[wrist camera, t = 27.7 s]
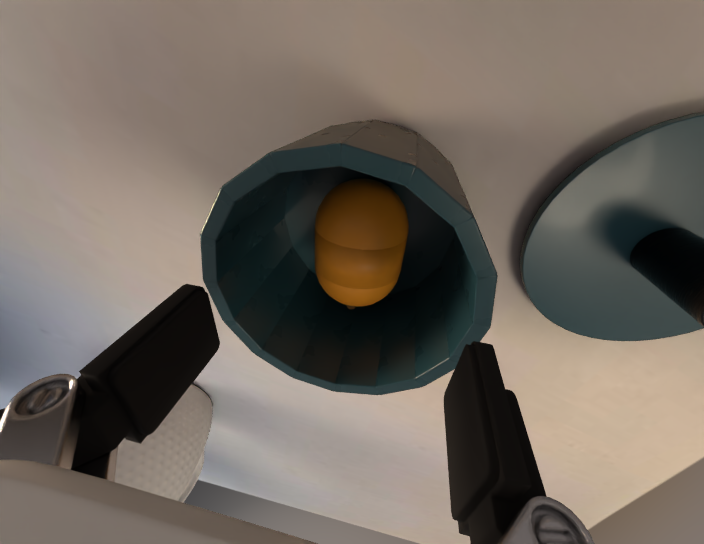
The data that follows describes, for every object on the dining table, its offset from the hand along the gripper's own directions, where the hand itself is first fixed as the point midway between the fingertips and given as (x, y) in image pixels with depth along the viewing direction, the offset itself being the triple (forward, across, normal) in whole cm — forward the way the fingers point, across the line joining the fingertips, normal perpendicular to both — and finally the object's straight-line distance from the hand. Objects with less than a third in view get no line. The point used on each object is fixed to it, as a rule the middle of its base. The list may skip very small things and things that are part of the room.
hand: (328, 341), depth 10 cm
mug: (+11, +20, +28) cm, 36 cm away
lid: (+10, -16, -2) cm, 19 cm away
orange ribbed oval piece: (+10, 0, 0) cm, 10 cm away
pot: (+11, 0, 0) cm, 11 cm away
